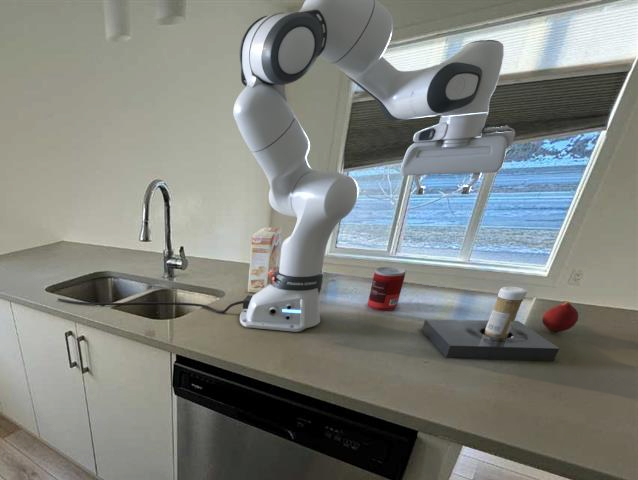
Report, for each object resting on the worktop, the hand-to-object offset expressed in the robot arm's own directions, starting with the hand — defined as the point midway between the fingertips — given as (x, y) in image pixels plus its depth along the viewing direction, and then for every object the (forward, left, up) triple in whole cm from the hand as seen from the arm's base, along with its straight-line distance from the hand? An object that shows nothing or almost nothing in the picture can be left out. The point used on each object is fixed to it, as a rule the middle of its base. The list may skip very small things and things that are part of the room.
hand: (441, 194), depth 102 cm
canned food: (-6, +4, -31) cm, 32 cm away
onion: (+27, -14, -31) cm, 44 cm away
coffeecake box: (-40, +24, -31) cm, 56 cm away
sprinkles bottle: (+11, -22, -31) cm, 40 cm away
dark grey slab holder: (+9, -22, -31) cm, 39 cm away
